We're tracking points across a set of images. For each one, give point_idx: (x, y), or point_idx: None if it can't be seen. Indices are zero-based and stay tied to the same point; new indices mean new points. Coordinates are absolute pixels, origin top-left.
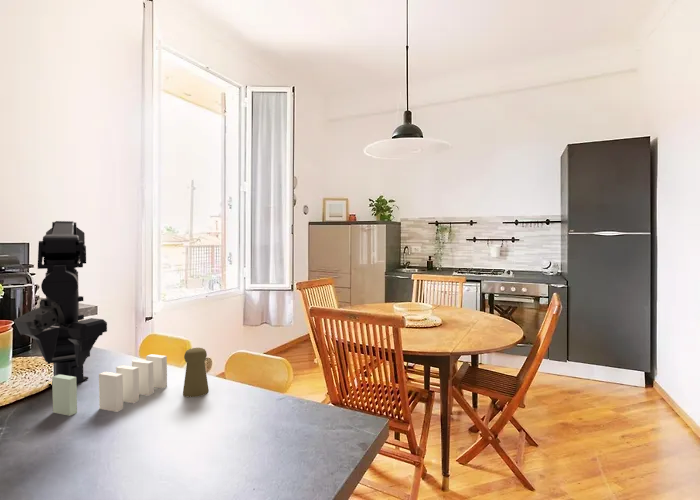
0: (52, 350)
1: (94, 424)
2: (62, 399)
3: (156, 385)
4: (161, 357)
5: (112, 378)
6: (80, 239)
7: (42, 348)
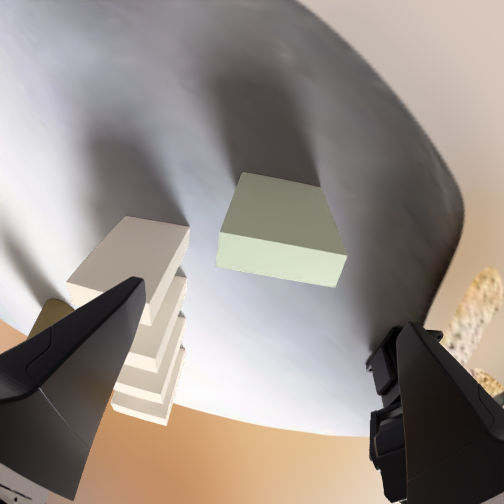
0: (408, 395)
1: (120, 137)
2: (275, 196)
3: None
4: (115, 405)
5: (87, 280)
6: None
7: (458, 385)
